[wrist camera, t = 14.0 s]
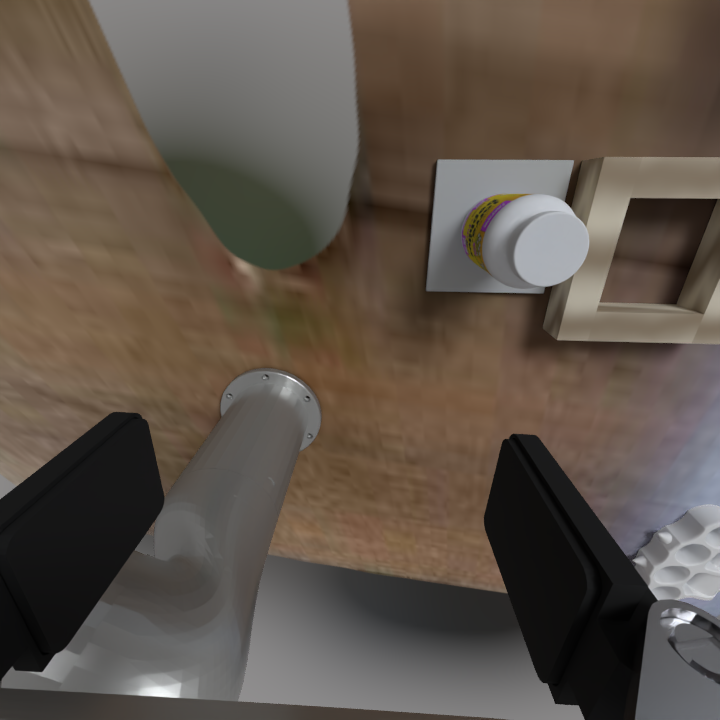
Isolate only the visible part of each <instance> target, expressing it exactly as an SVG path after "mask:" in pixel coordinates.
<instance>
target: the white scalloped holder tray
mask: <svg viewBox="0 0 720 720" xmlns="http://www.w3.org/2000/svg"><path fill="white" fill-rule="evenodd" d="M632 561H634V562H635V563H636V565H635V569H636V570H637V572H638V573H639V574H640V576H641V577H642V578H643V580H644V581H645V582H646V584H647V585H648V588H649V589H650V590H651V592H652V593H653V594H654V596H655V597H656V598H657V600H658V601H659V600H666V599H673V600H677V601H678V600H679V599H683V598H689V597H692V598H696V599H700V600H711V599H713V598H714V596H715V595H716V593H718V592H719V591H720V507H719V506H716V505H701V506H697V507H694V508H692V509H689V510H688V511H687V512H686V514H685V515H684V516H683V517H682V518H681V519H680V520H678V521H677V522H675V523H673V524H670V525H667V526H664V527H663V528H661V529H660V530H659V531H657V532H656V533H654V534H653V538H652V540H651V541H650V542H649V543H648V544H647V545H646V546H644V547H642V548H640V549H639V551H638V553H637V555H636V557H635V559H633V560H632Z"/></svg>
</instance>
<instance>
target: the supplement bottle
mask: <svg viewBox="0 0 720 720" xmlns="http://www.w3.org/2000/svg"><path fill="white" fill-rule="evenodd" d="M461 242H462V247H463V249H464V251H465V253H466V255H467V256H468V257H469V258H470V259H471V260H472V261H473V262H474V263H475V264H476V265H478V266H479V267H480V268H482V269H483V270H484V271H486V272H487V273H488V274H490V275H491V276H492V277H494V278H495V279H496V280H497V281H499V282H500V283H502V284H504V285H506V286H509V287H513V288H518V289H528V288H534V287H538V286H539V287H548V286H553V285H556V284H559V283H561V282H563V281H565V280H567V279H568V278H570V277H571V276H572V275H573V274H575V273H576V272H577V270H578V269H579V268H580V267H581V265H582V264H583V262H584V260H585V258H586V256H587V253H588V249H589V234H588V231H587V229H586V227H585V225H584V223H583V222H582V221H581V220H580V219H579V218H578V217H576V216H575V214H574V212H573V210H572V209H571V208H570V207H569V206H568V205H567V204H566V203H565V202H564V201H562V200H561V199H559V198H556V197H553V196H550V195H544V194H496V195H491V196H489V197H486V198H484V199H482V200H481V201H479V202H478V203H477V204H476V205H474V206H473V207H472V209H471V210H470V211H469V213H468V214H467V216H466V218H465V220H464V222H463V225H462V230H461Z"/></svg>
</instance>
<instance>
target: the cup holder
mask: <svg viewBox="0 0 720 720" xmlns="http://www.w3.org/2000/svg"><path fill="white" fill-rule="evenodd" d="M630 198H704V199H718V200H717V202H716V205H715V207H714V210H713V212H712V215H711V218H710V220H709V223H708V225H707V228H706V230H705V233H704V235H703V238H702V240H701V243H700V245H699V248H698V250H697V253H696V256H695V258H694V261H693V263H692V266H691V268H690V271H689V273H688V276H687V278H686V281H685V283H684V286H683V288H682V291H681V294H680V296H679V299H678V301H677V304H645V303H599V301H600V298H601V294H602V291H603V288H604V284H605V281H606V278H607V274H608V271H609V268H610V264H611V261H612V258H613V254H614V251H615V248H616V244H617V241H618V238H619V234H620V231H621V228H622V224H623V221H624V218H625V214H626V211H627V208H628V204H629V201H630ZM571 209H572V210H573V212H574V214H575V216H576V217H578V218H579V219H580V220H581V221H582V222H583V223H584V225H585V227H586V229H587V231H588V234H589V249H588V253H587V256H586V258H585V260H584V262H583V264H582V265H581V267H580V268H579V269H578V270H577V272H576V273H575V274H573V275H572V276H571V277H570V278H568V279H567V280H565V281H563V282H561V283H559V284H556V285H553V286H552V290H551V294H550V298H549V303H548V307H547V311H546V315H545V319H544V324H543V329H544V330H545V331H546V332H547V333H549V334H550V335H551V336H552V337H554V338H555V339H556V340H570V341H610V342H650V343H690V344H720V157H602V158H596V159H590V160H584V161H582V164H581V168H580V172H579V176H578V181H577V185H576V189H575V193H574V197H573V202H572V206H571Z"/></svg>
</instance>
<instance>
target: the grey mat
mask: <svg viewBox="0 0 720 720" xmlns="http://www.w3.org/2000/svg"><path fill="white" fill-rule="evenodd" d="M573 163H574V160H437V166H436V177H435V189H434V201H433V212H432V224H431V235H430V247H429V258H428V270H427V282H426V291H444V292H495V293H544V290H545V287H539V286H538V287H534V288H528V289H518V288H513V287H509V286H506V285H504V284H502V283H500V282H499V281H497V280H496V279H495V278H494V277H492V276H491V275H490V274H488V273H487V272H486V271H484V270H483V269H482V268H480V267H479V266H478V265H476V264H475V263H474V262H473V261H472V260H471V259H470V258H469V257H468V256H467V255H466V253H465V251H464V249H463V247H462V242H461V230H462V225H463V222H464V220H465V218H466V216H467V214H468V213H469V211H470V210H471V209H472V207H473V206H474V205H476V204H477V203H478V202H479V201H481V200H482V199H484V198H486V197H489V196H491V195H496V194H544V195H550V196H553V197H556V198H559V199H561V200H562V201H564V202H565V198H566V194H567V189H568V185H569V181H570V176H571V172H572V167H573Z"/></svg>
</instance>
